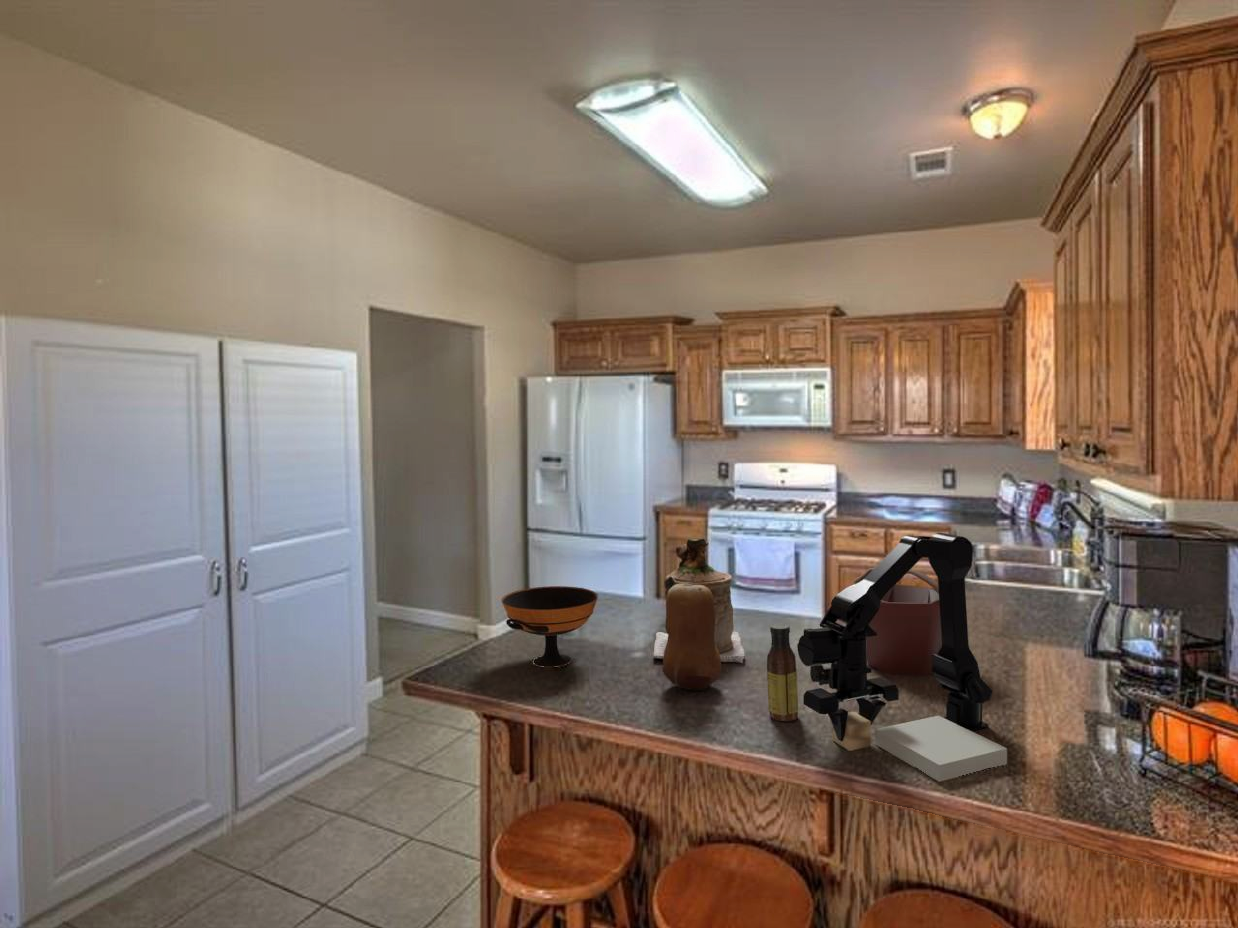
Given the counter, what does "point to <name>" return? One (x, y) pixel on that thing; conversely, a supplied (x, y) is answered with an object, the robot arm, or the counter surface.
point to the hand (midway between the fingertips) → (851, 737)
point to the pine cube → (855, 733)
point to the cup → (549, 615)
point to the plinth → (940, 747)
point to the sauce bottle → (782, 676)
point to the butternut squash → (691, 637)
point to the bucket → (906, 628)
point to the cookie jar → (719, 584)
